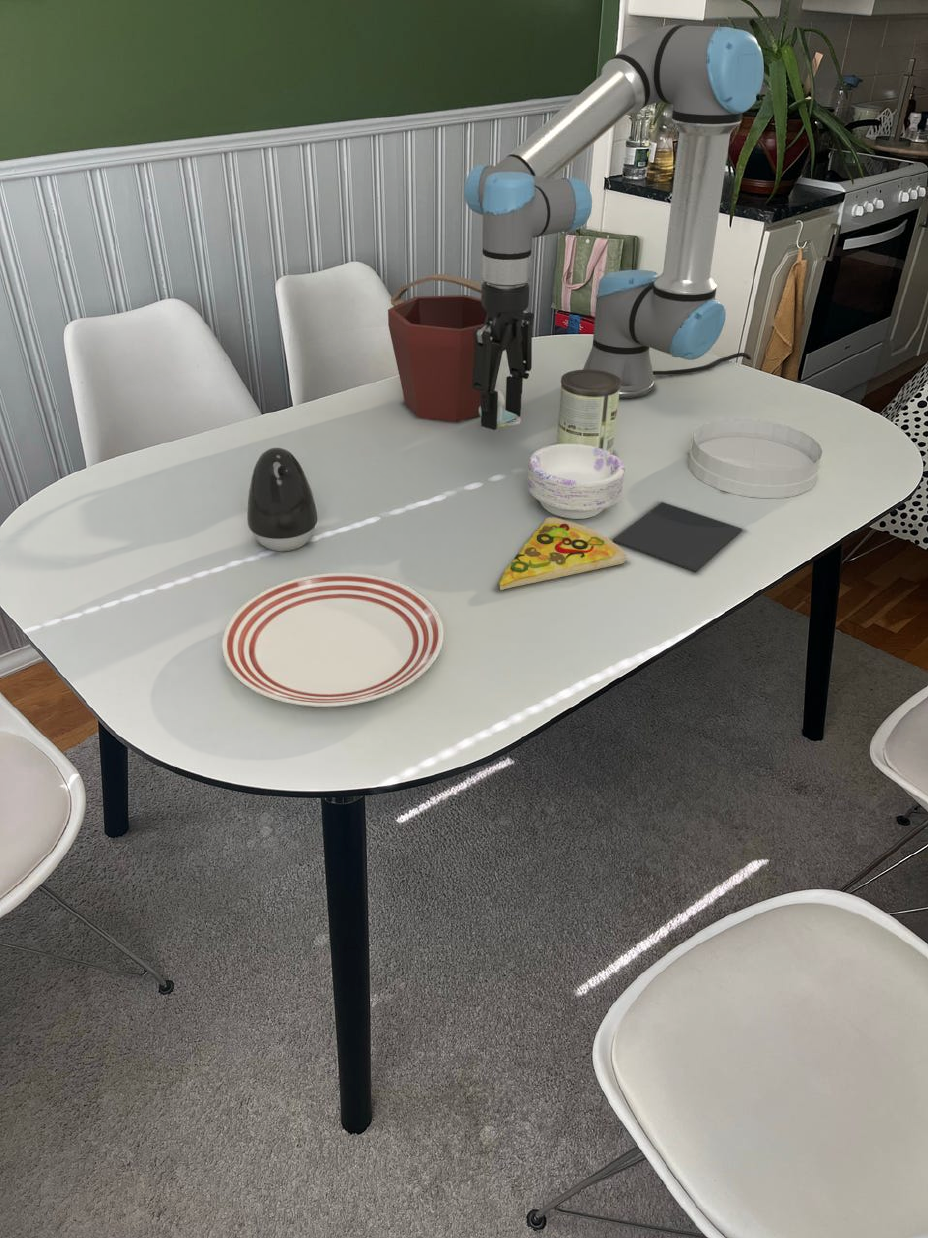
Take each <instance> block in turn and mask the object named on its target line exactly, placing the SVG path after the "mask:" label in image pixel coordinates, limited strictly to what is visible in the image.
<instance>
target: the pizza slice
mask: <svg viewBox="0 0 928 1238" xmlns="http://www.w3.org/2000/svg"><path fill="white" fill-rule="evenodd" d="M626 559H627V554H626V552H625V551H624V550H623V549H622V548H621V546H619V544H617V543H615V542H613V540H611V539H610V538H608V537H606V536H605V535H603V534H601V533H599V532H597V531H595V530H594V529H592V528H589V527H588V526H585V525H582V524H579V523H577V522H573V521H570V520H566V519H563V518H559V517H553V516H549V517H546V518H545V519H544V521H543V522H542V524H541V525H540V526H539V528H538V529H537V530H536V531H535V532H534V533H533V535H532V536H531V537H530V539H529V540H527V541H526V543H525V544H524V545H523V547H522V548H521V549H520V551H519V553H518V554H516V555H515V557H514V559H513V560H512V561H511V562H510V564H509V565H508V566H507V567H506V569H505V570H504V572H503V575H502V577H501V579H500V581H499V589H500V591H502V590H507V589H512V588H517V587H521V586H525V585H529V584H530V585H531V584H535V583H539V582H540V583H541V582H545V581H550V580H555V579H559V578H563V577H568V576H572V575H577V574H580V573H586V572H590V571H594V570H599V569H605V568H609V567H612V566H617V565H622V564H624V563H625V562H626Z"/></svg>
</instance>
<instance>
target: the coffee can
mask: <svg viewBox="0 0 928 1238" xmlns="http://www.w3.org/2000/svg"><path fill="white" fill-rule="evenodd" d="M560 384H561V385H560V398H559V412H558V413H559V414H558V426H557V438H556V439H557V440H556V444H582V445H588V446H593V447H597V448H600V449H603V450H606V451H608V452H610V453H612V454H614V442H615V436H616V435H615V434H616V426H617V417H618V408H619V407H618V406H619V400H620V398H619V391H620V387H621V380H620V378H619V377H617V376H616V375H614V374H611V373H608V372H605V371H600V370H589V369H584V370H583V369H576V370H572V371H568V372H565V373H564V374H563V375H562V376H561V377H560Z"/></svg>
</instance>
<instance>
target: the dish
mask: <svg viewBox="0 0 928 1238" xmlns="http://www.w3.org/2000/svg"><path fill="white" fill-rule="evenodd" d="M822 455H823V449H822V447H821V444H820V443H819V442H818V441H816V440H815V438H813V436H810V435H809V434H807V433H805V432H804V431H801V430H798V429H796V428H794V427H792V426H788V425H785V424H781V423H778V422H775V421H767V420H762V419H751V418H726V419H718V420H714V421H710V422H708V423H704V424H703V425H701V426H700V427H698V428H697V429H696V430H695V432H694V434H693V437H692V443H691V446H690V449H689V455H688V460H687V462H688V469H689V470H690V472H691V473H692V474H693V476H695V478H697V479H698V480H700V481H701V482H702V483H704V484H706V485H708V486H710V487H712V488H714V489H717V490H720V491H723V492H726V493H728V494H732V495H736V496H742V497H747V498H755V499H756V498H758V499H785V498H790V497H795V496H800V495H802V494H804V493H806V492H809V491H810V490H811V489H813V487H814V486H815V485H816V483H817V478H818V474H819V472H820V468H821V467H820V461H821V458H822Z"/></svg>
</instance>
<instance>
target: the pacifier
mask: <svg viewBox="0 0 928 1238" xmlns="http://www.w3.org/2000/svg"><path fill="white" fill-rule="evenodd" d="M494 391H497V392H498V404H497V428H503V427H507V426H517V425H520V424H521V423H522V420H521V418H520V417H518V416H517V415H516V414H514V413H511V412H509V411H506V410H505V408H504V406H506V398H505V396H504V395H503V392H502V391H501V390H500V389H498V388H495V390H494ZM479 414H480V416H479V417H481V406H480V407H479Z"/></svg>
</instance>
